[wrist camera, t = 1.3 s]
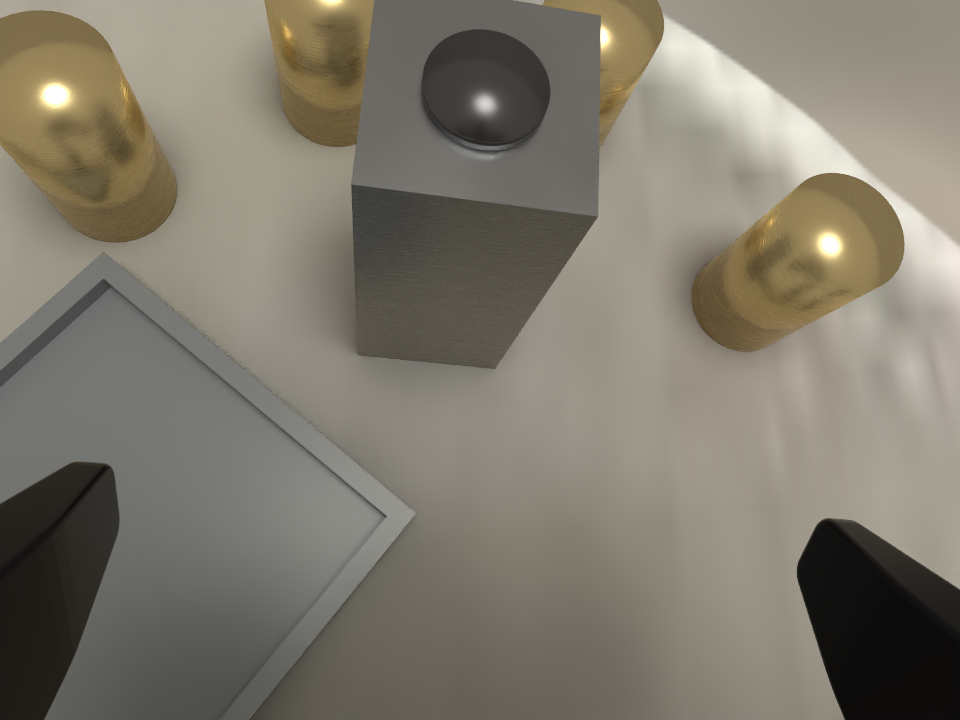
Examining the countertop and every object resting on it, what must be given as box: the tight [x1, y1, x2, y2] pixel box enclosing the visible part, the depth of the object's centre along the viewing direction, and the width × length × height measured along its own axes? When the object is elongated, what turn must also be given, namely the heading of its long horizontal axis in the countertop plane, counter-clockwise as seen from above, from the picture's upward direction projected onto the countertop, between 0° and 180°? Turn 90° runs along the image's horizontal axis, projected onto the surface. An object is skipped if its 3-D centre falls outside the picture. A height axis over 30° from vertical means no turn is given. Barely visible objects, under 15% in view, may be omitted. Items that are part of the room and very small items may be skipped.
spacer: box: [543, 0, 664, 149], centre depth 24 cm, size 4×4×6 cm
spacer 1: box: [0, 11, 177, 242], centre depth 20 cm, size 4×4×6 cm
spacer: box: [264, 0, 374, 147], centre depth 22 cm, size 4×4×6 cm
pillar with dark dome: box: [351, 0, 601, 369], centre depth 19 cm, size 4×4×11 cm
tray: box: [0, 252, 416, 720], centre depth 20 cm, size 12×12×1 cm
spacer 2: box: [692, 173, 904, 351], centre depth 23 cm, size 4×4×6 cm
